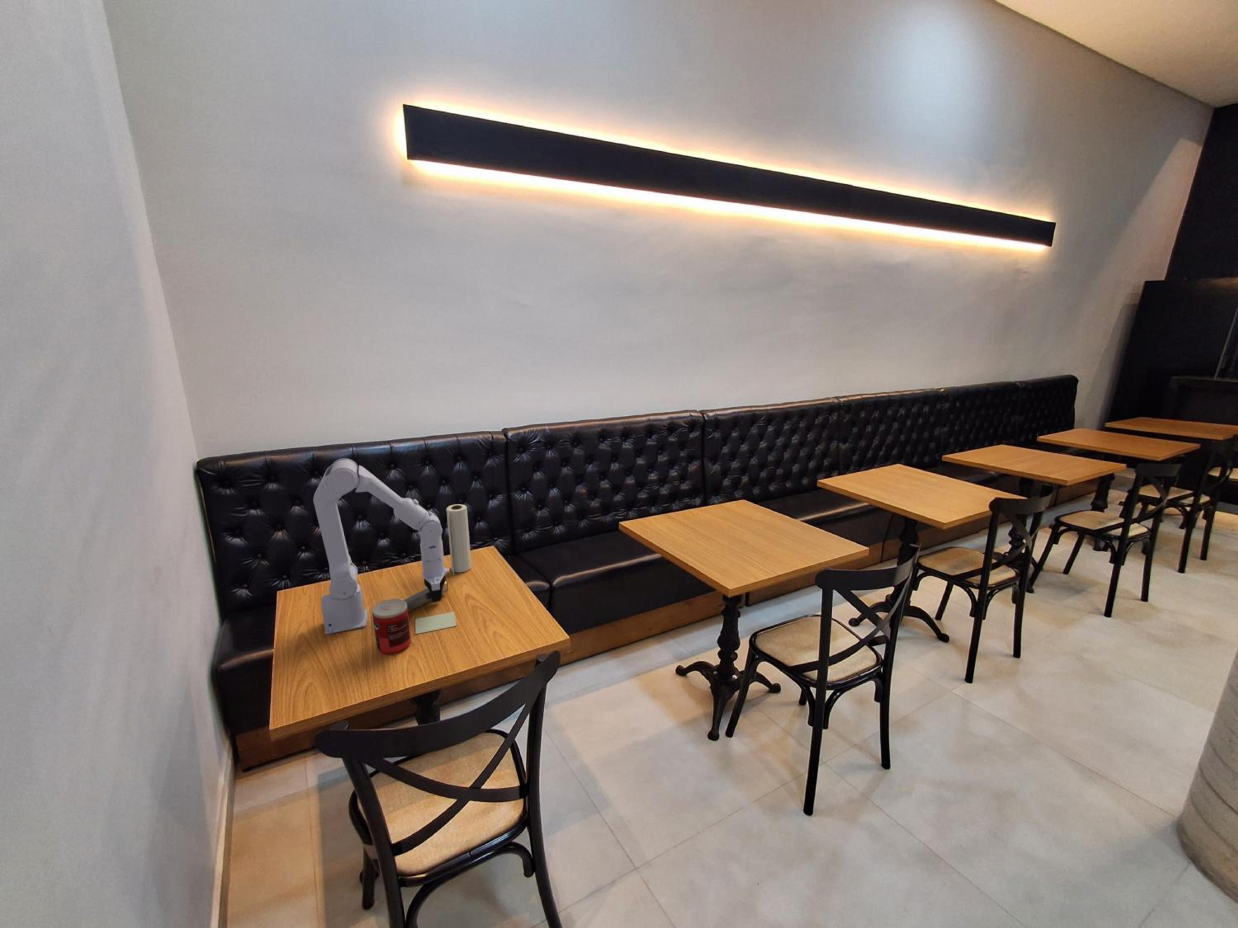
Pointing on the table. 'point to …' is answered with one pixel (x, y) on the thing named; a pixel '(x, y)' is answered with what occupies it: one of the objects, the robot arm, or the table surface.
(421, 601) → the grey copper-tipped rod
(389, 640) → the canned food
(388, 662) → the table surface
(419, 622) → the plate
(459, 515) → the paper towel roll
